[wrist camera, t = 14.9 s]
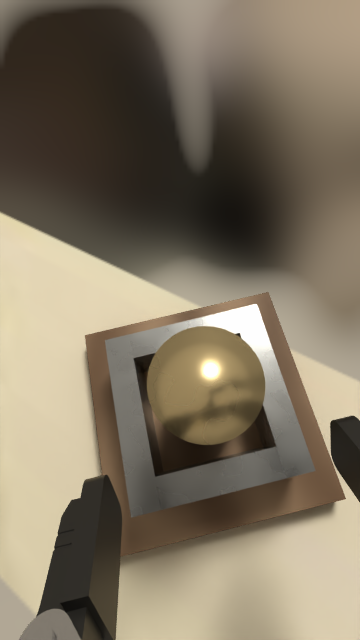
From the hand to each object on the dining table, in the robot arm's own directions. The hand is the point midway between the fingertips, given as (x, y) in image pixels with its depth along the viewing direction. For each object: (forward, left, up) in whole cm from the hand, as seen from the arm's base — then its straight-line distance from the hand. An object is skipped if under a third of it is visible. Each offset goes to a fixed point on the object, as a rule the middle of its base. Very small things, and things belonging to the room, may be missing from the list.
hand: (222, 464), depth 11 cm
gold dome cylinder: (0, -3, -10) cm, 10 cm away
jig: (0, -3, -11) cm, 11 cm away
